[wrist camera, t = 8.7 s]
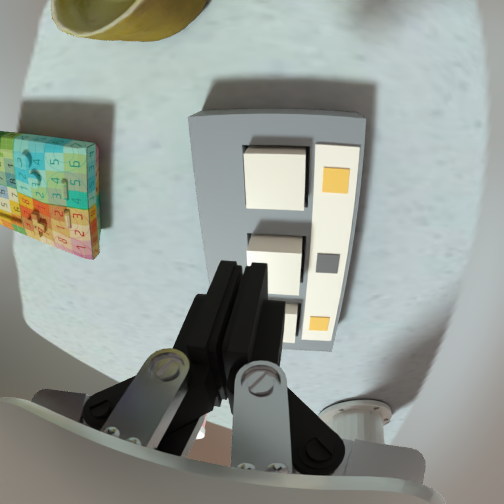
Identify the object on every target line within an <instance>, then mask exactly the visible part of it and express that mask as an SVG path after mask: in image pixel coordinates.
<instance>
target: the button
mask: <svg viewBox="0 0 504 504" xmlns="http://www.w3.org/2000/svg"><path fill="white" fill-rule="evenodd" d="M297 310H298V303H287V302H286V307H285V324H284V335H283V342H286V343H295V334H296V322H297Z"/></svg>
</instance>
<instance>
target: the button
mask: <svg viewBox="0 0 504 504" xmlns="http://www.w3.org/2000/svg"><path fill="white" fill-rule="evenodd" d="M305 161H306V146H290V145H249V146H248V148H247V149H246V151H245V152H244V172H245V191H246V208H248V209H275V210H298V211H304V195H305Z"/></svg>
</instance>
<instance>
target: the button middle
mask: <svg viewBox="0 0 504 504" xmlns="http://www.w3.org/2000/svg"><path fill="white" fill-rule="evenodd" d="M246 252H247V266H251V263H252V262H257V263H267V264H268V294H281V295H297V296H299V287H300V272H301V257H302V236H296V235H277V234H256V233H252V234H251V238H250V241H249V244H248V247H247V250H246Z"/></svg>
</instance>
